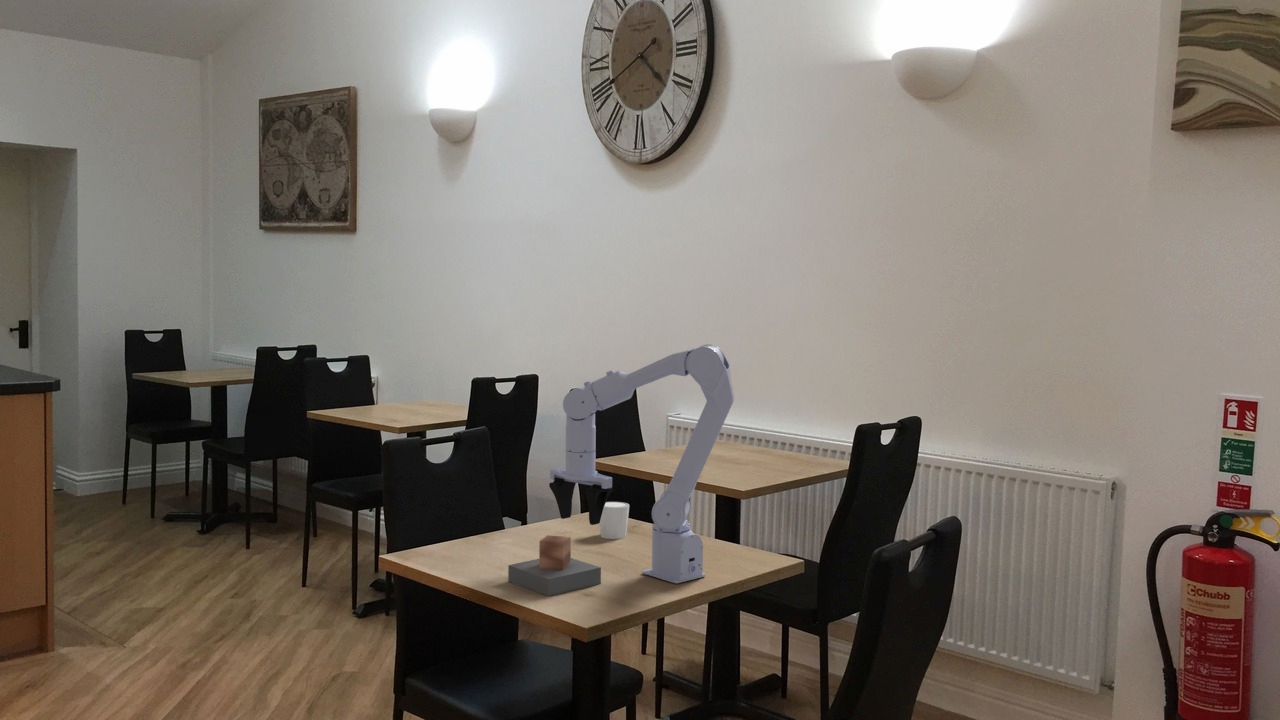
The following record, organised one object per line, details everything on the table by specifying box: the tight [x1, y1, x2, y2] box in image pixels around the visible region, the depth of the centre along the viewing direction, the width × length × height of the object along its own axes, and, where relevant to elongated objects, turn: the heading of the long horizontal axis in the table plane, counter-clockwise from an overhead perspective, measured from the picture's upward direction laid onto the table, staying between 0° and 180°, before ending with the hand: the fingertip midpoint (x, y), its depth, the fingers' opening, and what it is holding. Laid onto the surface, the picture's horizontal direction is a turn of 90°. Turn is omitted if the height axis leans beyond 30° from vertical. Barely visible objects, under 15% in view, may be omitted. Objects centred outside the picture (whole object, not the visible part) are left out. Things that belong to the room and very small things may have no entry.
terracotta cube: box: [538, 534, 572, 570], centre depth 189 cm, size 4×4×5 cm
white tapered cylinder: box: [599, 501, 630, 540], centre depth 225 cm, size 7×7×7 cm
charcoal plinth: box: [507, 557, 602, 597], centre depth 189 cm, size 12×12×3 cm
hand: (580, 520), depth 197 cm, fingers open, 7 cm apart
